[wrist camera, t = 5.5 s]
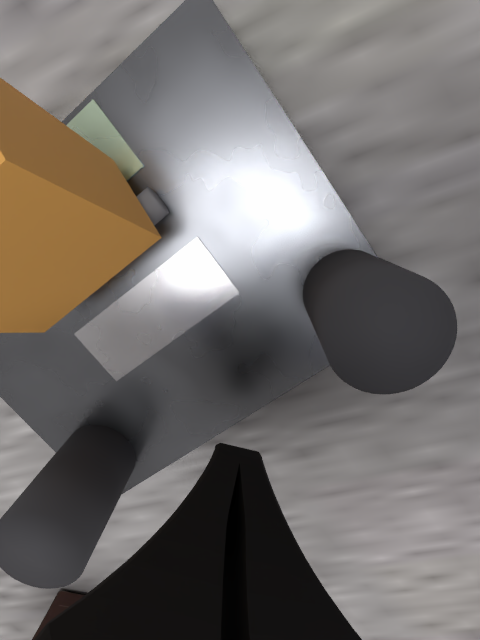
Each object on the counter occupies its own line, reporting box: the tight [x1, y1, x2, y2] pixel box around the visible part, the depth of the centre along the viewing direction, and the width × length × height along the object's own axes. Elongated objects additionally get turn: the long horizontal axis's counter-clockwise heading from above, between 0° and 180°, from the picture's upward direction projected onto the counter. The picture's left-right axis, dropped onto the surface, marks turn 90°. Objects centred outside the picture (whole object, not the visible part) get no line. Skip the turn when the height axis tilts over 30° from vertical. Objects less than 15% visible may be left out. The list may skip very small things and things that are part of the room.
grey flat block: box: [0, 0, 377, 494], centre depth 14 cm, size 12×15×3 cm
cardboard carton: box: [0, 78, 169, 333], centre depth 10 cm, size 3×6×6 cm, turn 126°
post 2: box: [303, 249, 457, 394], centre depth 11 cm, size 3×3×4 cm
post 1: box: [0, 425, 136, 589], centre depth 13 cm, size 3×3×4 cm
